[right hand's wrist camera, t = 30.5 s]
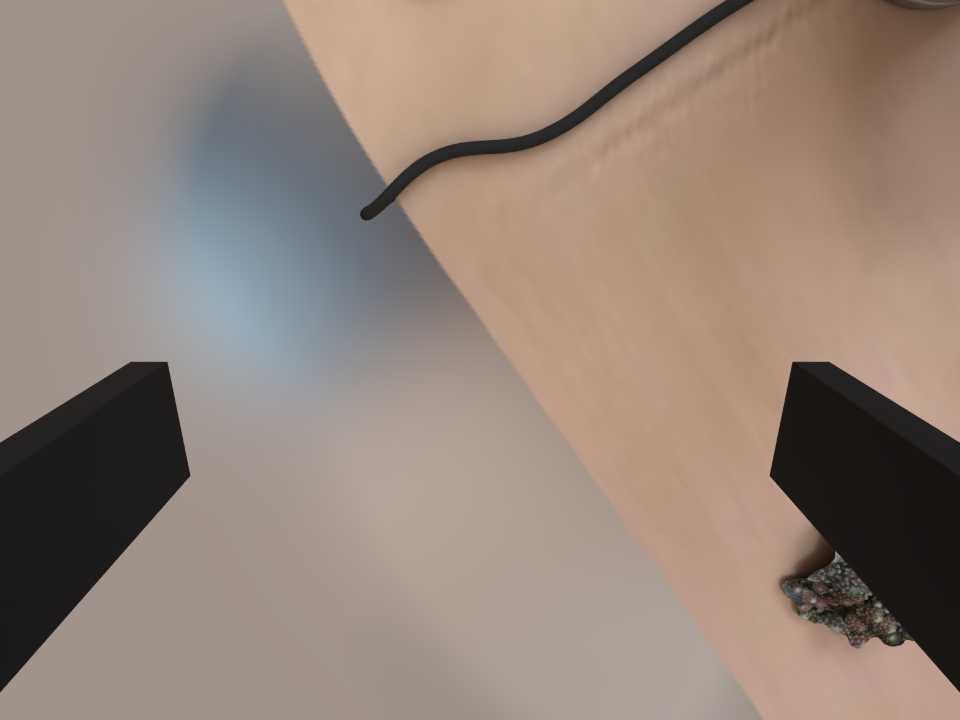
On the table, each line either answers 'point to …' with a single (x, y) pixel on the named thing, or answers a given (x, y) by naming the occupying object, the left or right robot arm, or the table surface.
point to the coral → (844, 605)
